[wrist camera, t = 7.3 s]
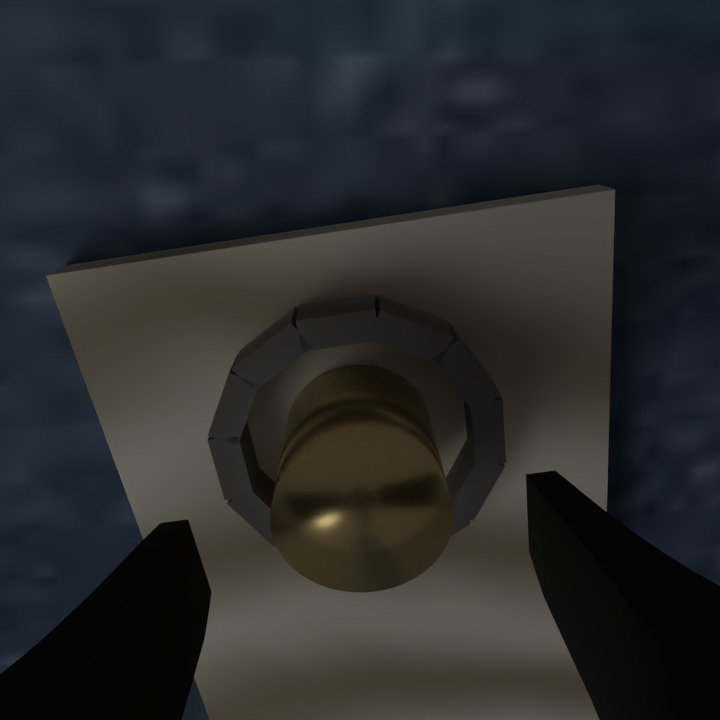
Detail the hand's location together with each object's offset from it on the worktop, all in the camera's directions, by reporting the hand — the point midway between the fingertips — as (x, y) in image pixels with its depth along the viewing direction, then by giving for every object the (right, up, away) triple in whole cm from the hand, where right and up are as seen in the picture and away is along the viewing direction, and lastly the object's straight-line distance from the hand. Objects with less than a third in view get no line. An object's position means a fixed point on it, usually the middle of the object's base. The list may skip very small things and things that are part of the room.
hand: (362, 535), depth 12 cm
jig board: (+1, -2, +7) cm, 7 cm away
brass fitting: (0, +2, +4) cm, 4 cm away
